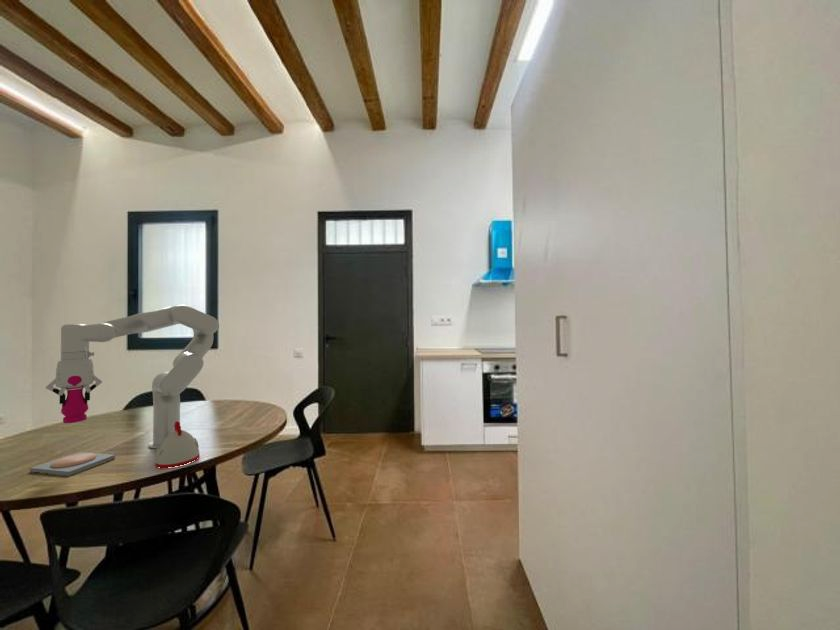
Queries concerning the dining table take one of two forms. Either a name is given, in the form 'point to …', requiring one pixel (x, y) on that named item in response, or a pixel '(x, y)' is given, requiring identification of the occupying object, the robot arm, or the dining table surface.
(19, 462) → the dining table surface
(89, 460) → the slate board
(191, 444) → the kitchen timer
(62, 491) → the dining table surface
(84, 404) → the pepper mill
